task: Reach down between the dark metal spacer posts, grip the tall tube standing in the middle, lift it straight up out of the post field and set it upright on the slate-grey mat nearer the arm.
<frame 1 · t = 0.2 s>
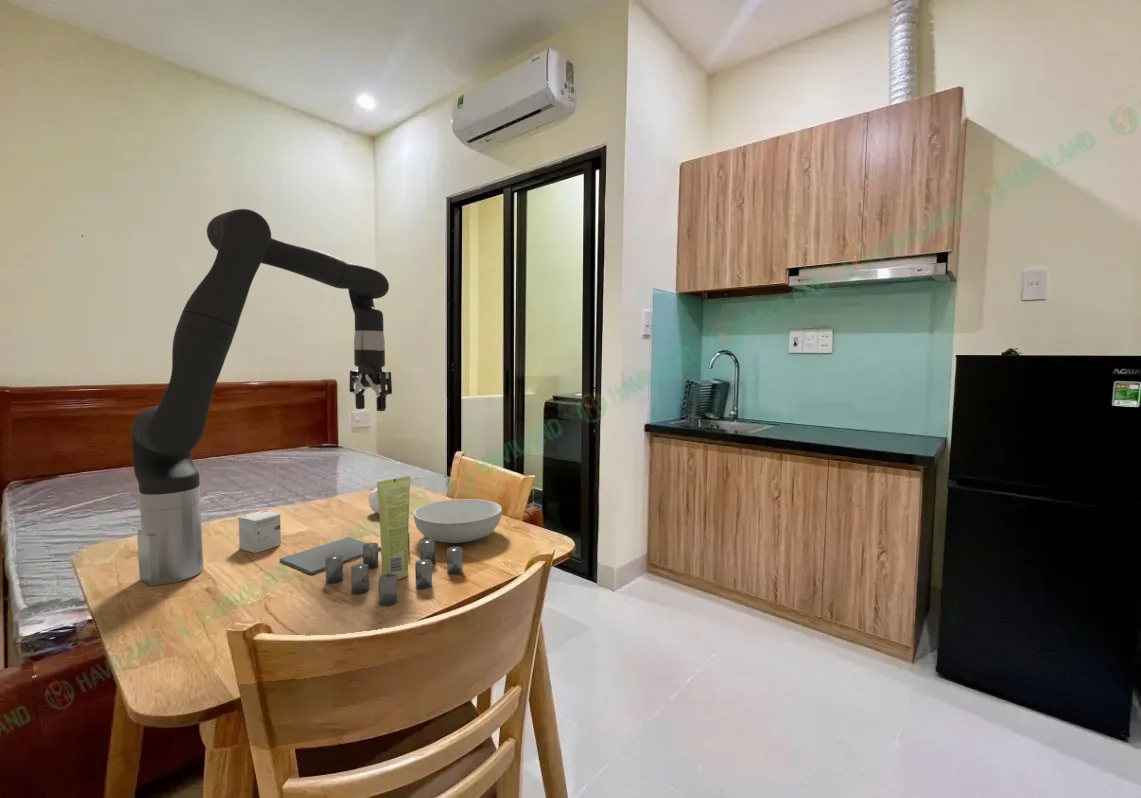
hand: (370, 409, 135), 29 cm above the table, tool pointing down, fingers open, 8 cm apart
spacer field: (396, 575, 100), on the table
tube: (396, 576, 100), resting in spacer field
slate mat: (332, 555, 110), on the table
ball: (383, 513, 141), on the table
serving bowl: (458, 537, 123), on the table
skincare box: (260, 547, 115), on the table
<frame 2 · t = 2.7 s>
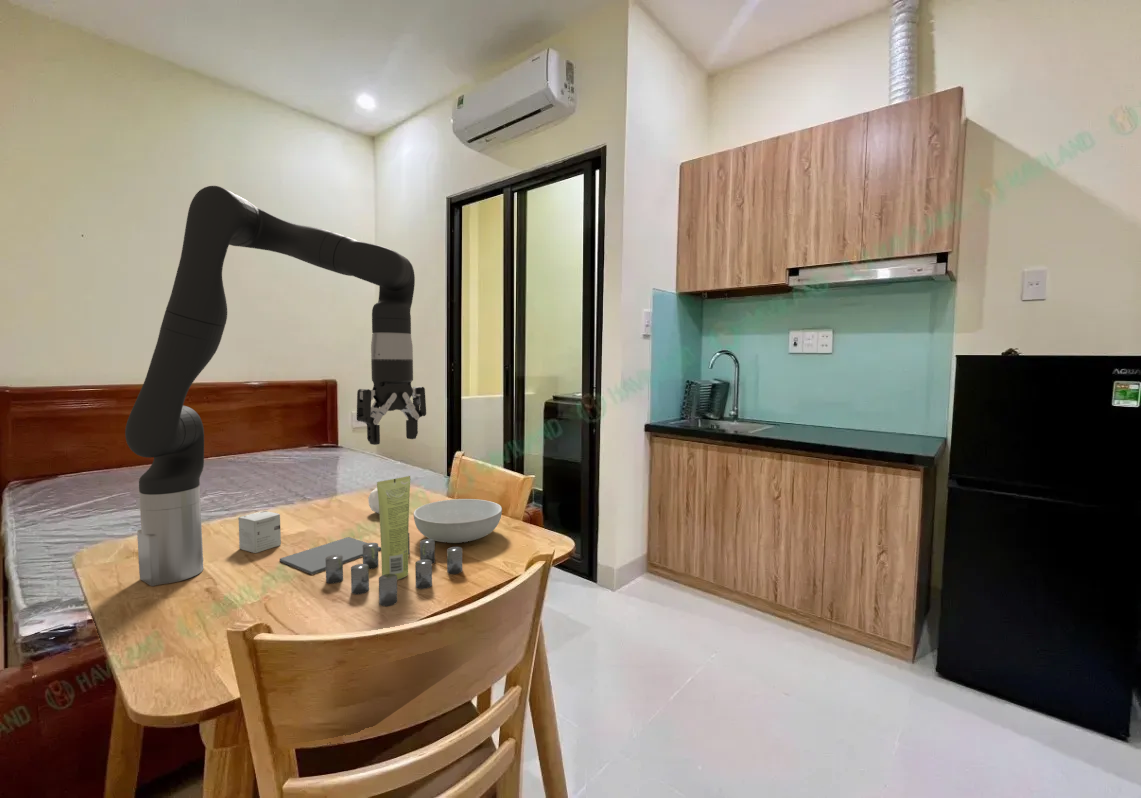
hand: (393, 441, 98), 27 cm above the table, tool pointing down, fingers open, 8 cm apart
nothing on the table moved.
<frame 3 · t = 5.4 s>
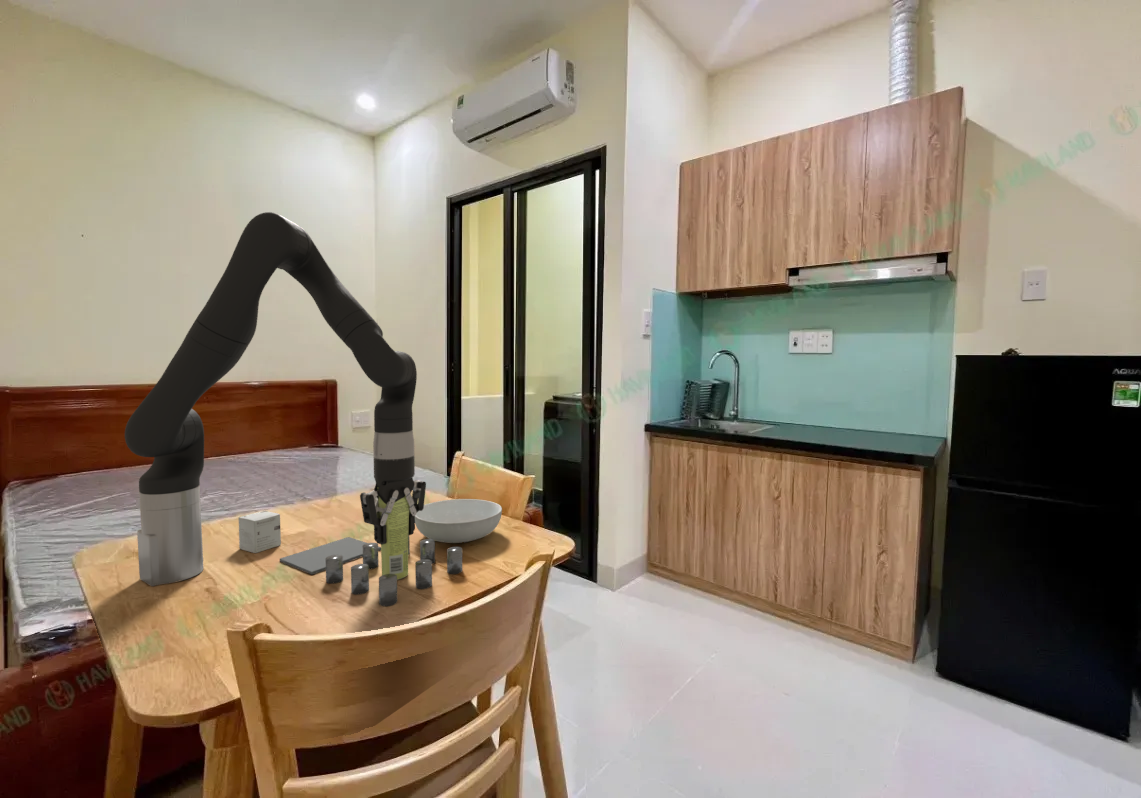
hand: (395, 538, 100), 8 cm above the table, tool pointing down, fingers closed on tube, 6 cm apart
tube: (396, 576, 100), resting in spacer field, touching gripper
everything else where it was.
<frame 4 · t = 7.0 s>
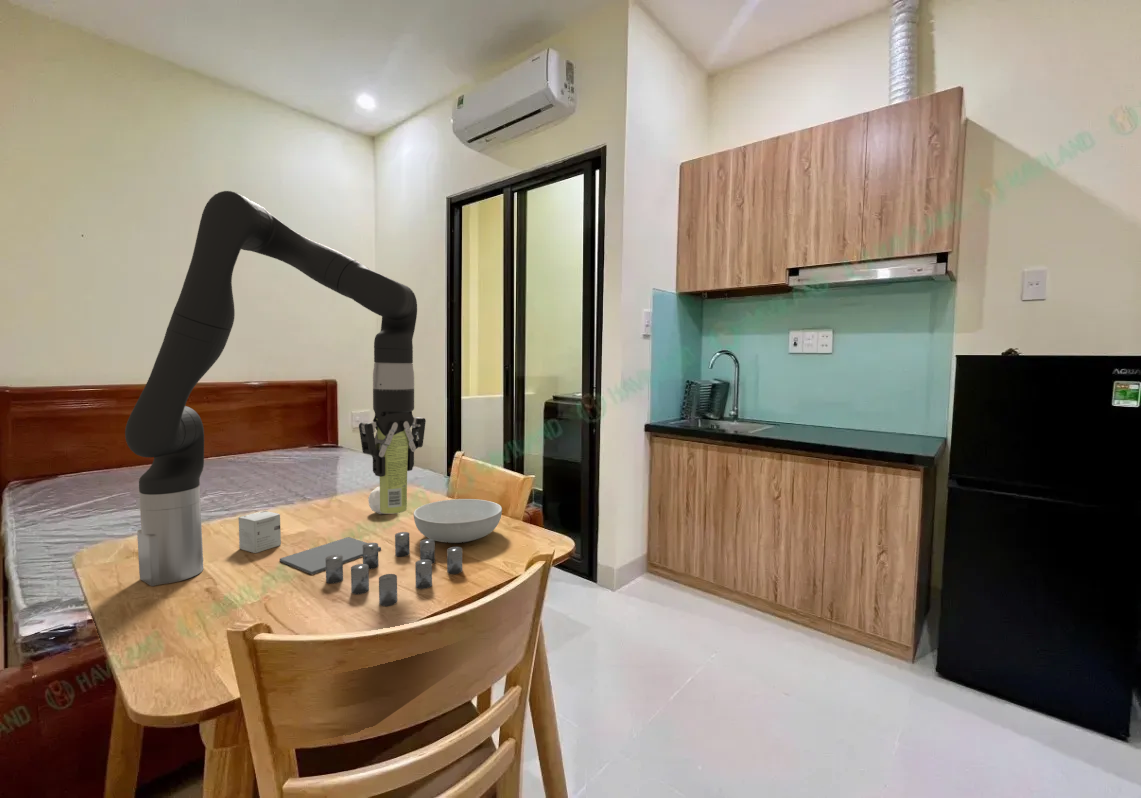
hand: (394, 472, 99), 21 cm above the table, tool pointing down, fingers closed on tube, 6 cm apart
tube: (394, 511, 99), point 13 cm above the table, touching gripper
everything else where it was.
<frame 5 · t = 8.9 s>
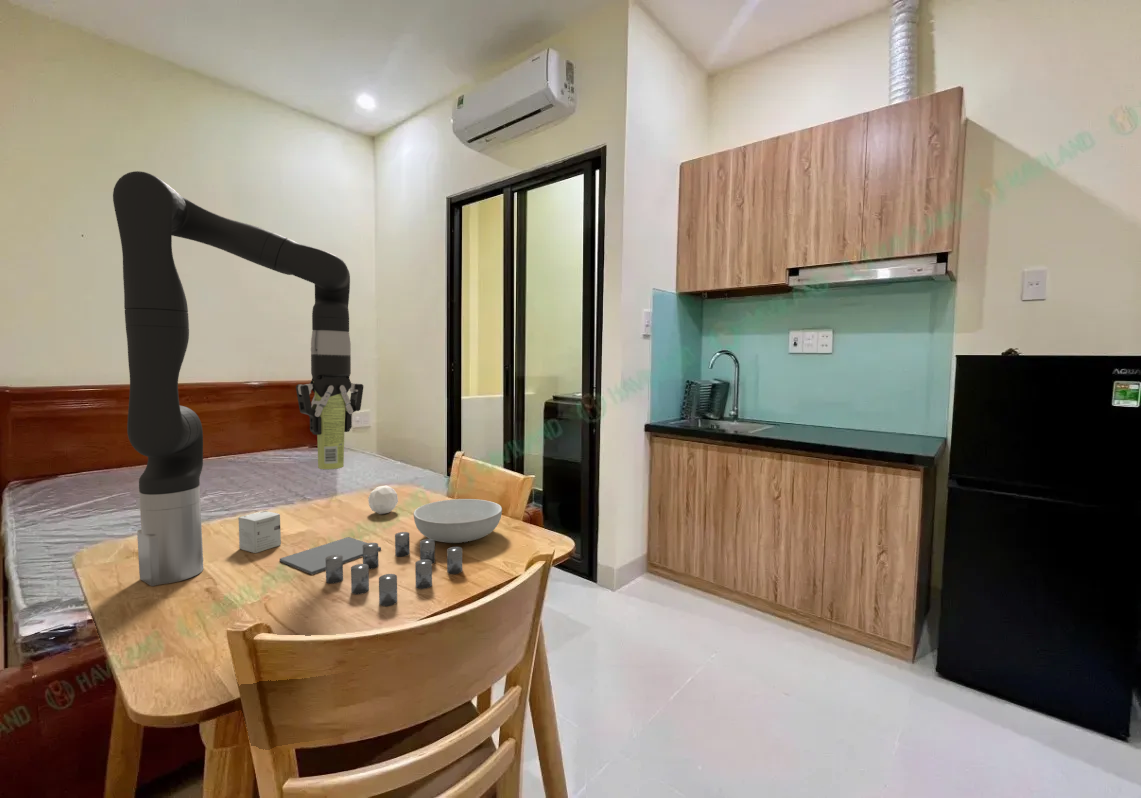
hand: (331, 432, 108), 27 cm above the table, tool pointing down, fingers closed on tube, 6 cm apart
tube: (332, 468, 108), point 19 cm above the table, touching gripper
everything else where it was.
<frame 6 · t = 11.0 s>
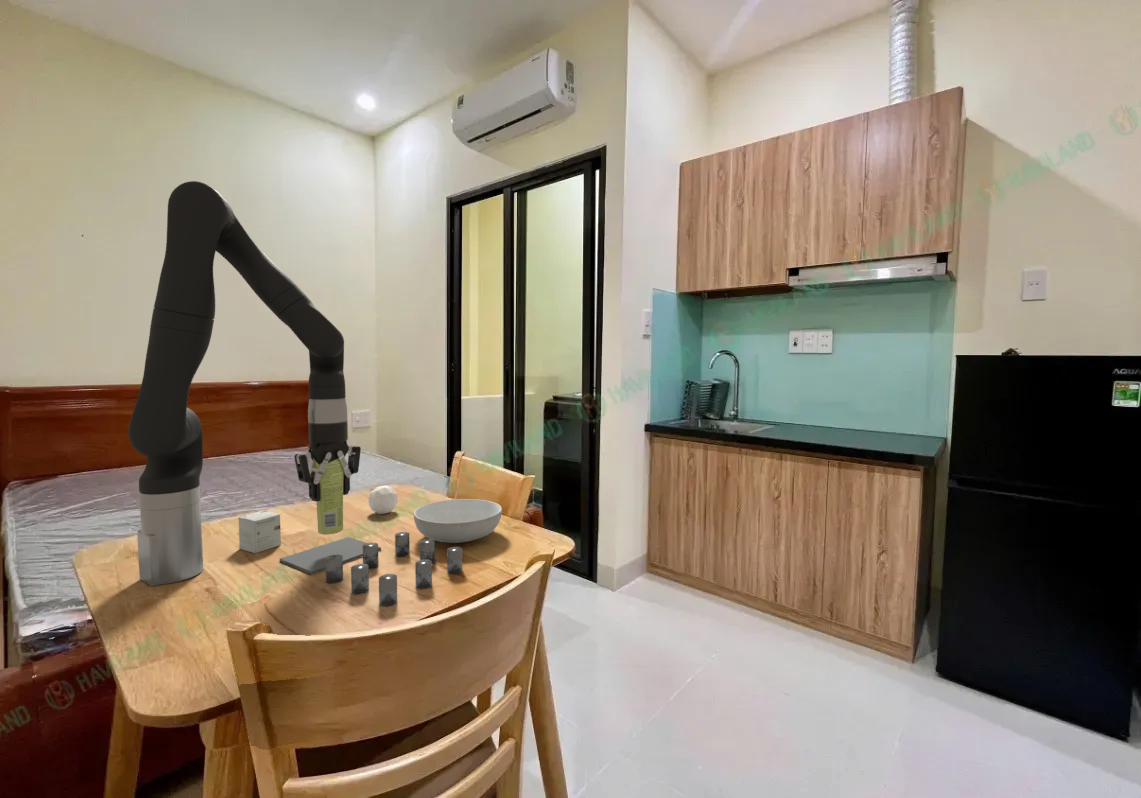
hand: (330, 497, 109), 13 cm above the table, tool pointing down, fingers closed on tube, 6 cm apart
tube: (331, 532, 110), point 5 cm above the table, touching gripper
everything else where it was.
when the fingers open (9 cm above the table, at t = 12.6 s): tube drops 1 cm, resting on slate mat.
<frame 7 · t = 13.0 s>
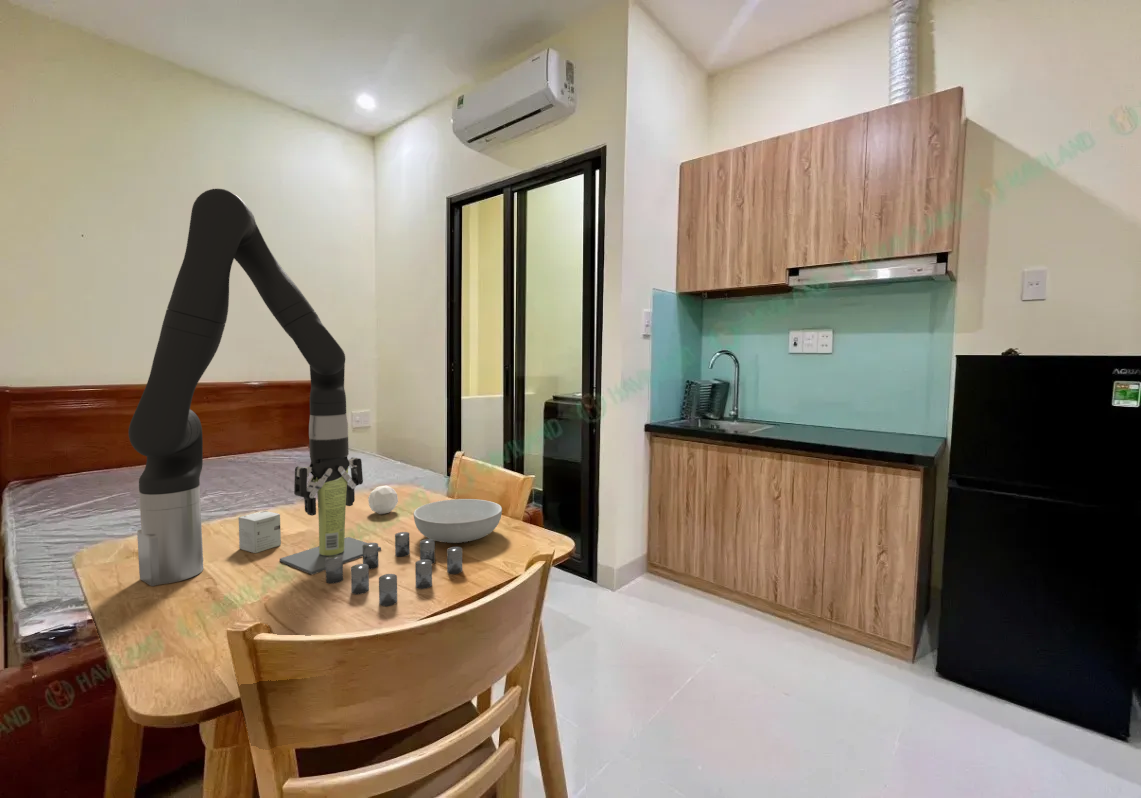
hand: (330, 509, 110), 10 cm above the table, tool pointing down, fingers open, 8 cm apart
tube: (332, 553, 111), resting on slate mat
everything else where it was.
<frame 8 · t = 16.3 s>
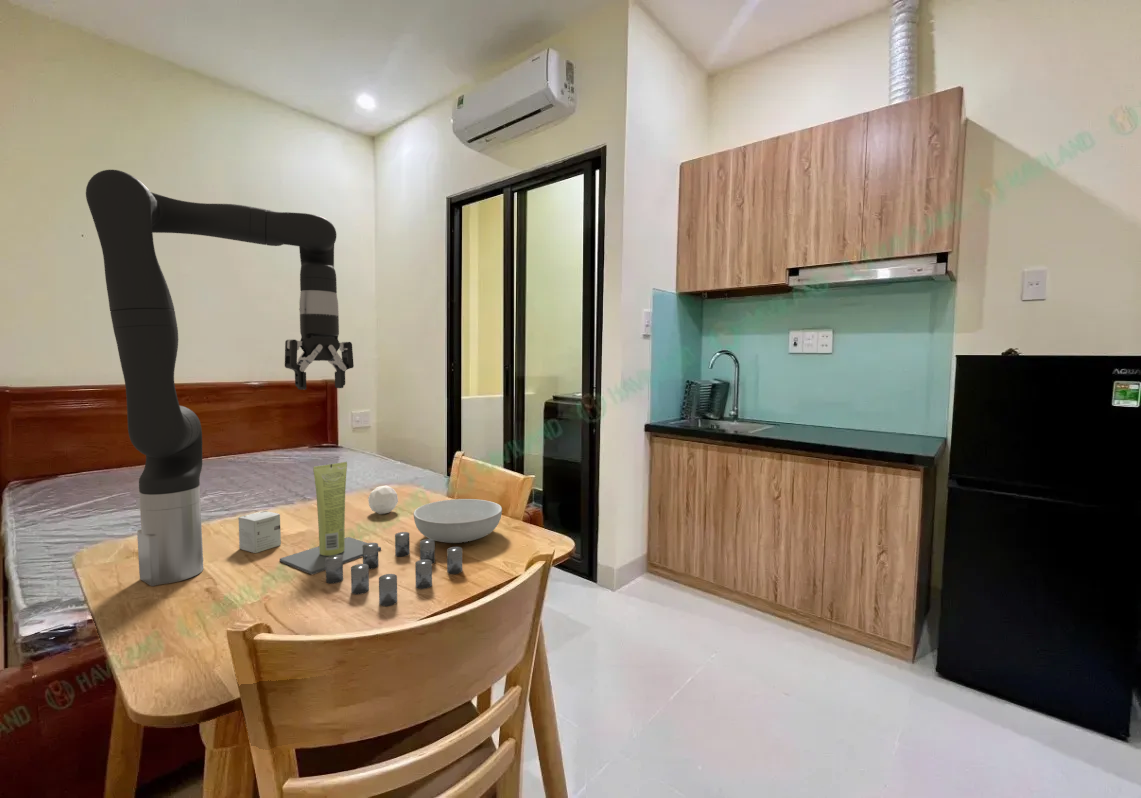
hand: (321, 388, 111), 36 cm above the table, tool pointing down, fingers open, 8 cm apart
nothing on the table moved.
at the end: tube inside the target area on the slate mat (0.3 cm from its centre), point 0.4 cm above the slate mat's base; tube tilted 0°; the gripper is holding nothing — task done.
